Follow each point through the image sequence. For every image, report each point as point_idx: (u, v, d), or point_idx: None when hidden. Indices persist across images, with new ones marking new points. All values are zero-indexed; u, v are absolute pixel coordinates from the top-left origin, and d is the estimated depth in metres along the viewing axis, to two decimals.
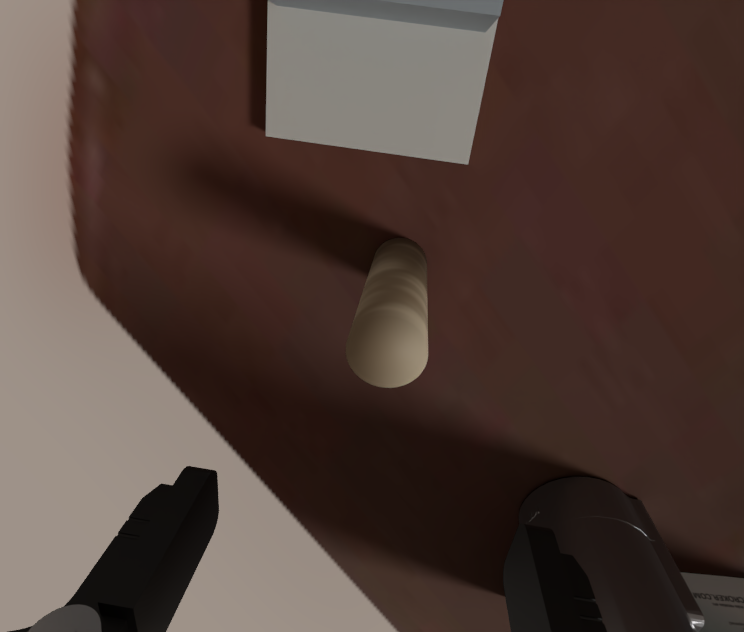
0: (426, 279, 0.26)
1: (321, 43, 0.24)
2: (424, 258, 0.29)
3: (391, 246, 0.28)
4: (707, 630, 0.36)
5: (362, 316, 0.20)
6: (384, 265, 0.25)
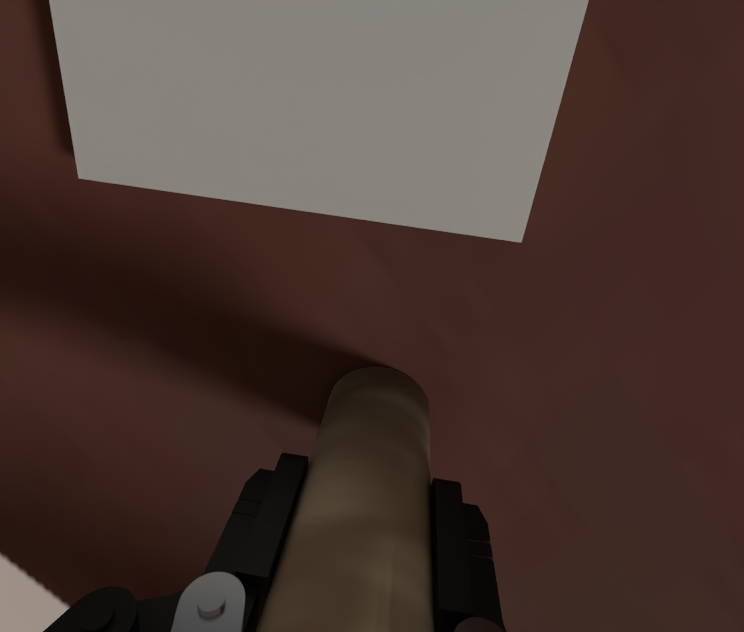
0: (429, 490, 0.12)
1: None
2: (424, 413, 0.14)
3: (357, 399, 0.14)
4: None
5: None
6: (331, 487, 0.11)
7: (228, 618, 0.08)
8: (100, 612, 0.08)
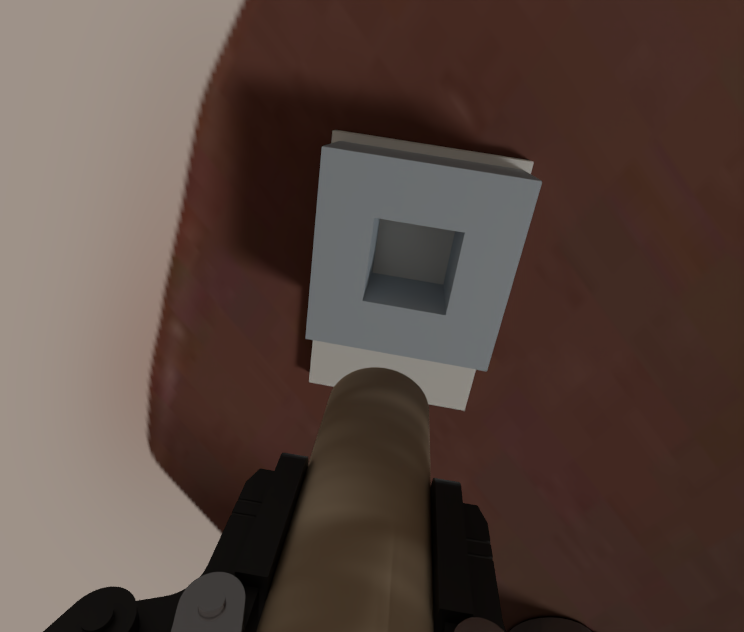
0: (429, 491, 0.12)
1: None
2: (424, 414, 0.15)
3: (357, 400, 0.14)
4: None
5: None
6: (331, 488, 0.11)
7: (228, 618, 0.08)
8: (100, 612, 0.08)
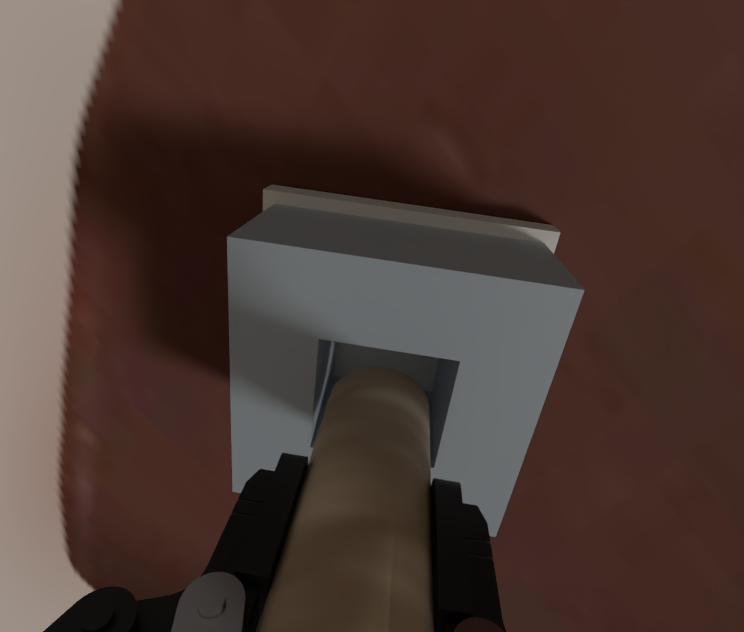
0: (430, 490, 0.12)
1: None
2: (425, 414, 0.14)
3: (357, 399, 0.14)
4: None
5: None
6: (331, 487, 0.11)
7: (228, 618, 0.08)
8: (100, 612, 0.08)
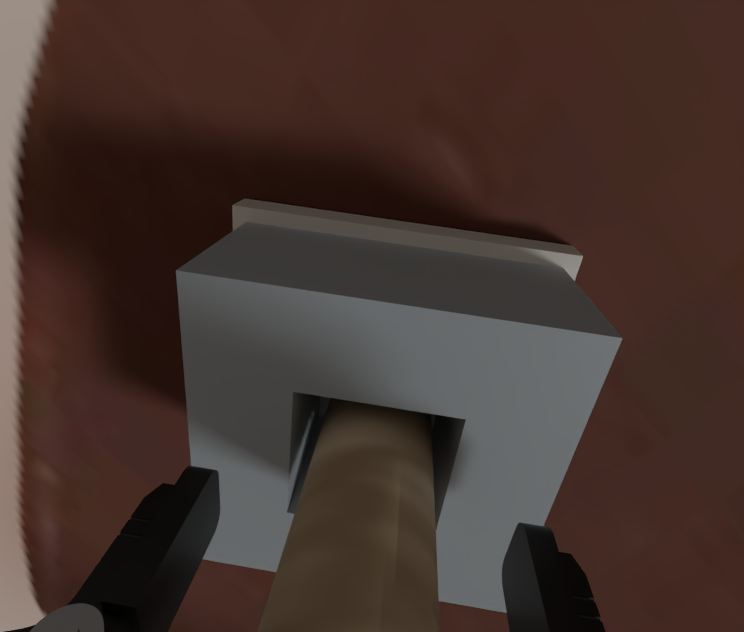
0: (431, 437, 0.14)
1: None
2: None
3: None
4: None
5: None
6: (347, 427, 0.12)
7: None
8: None
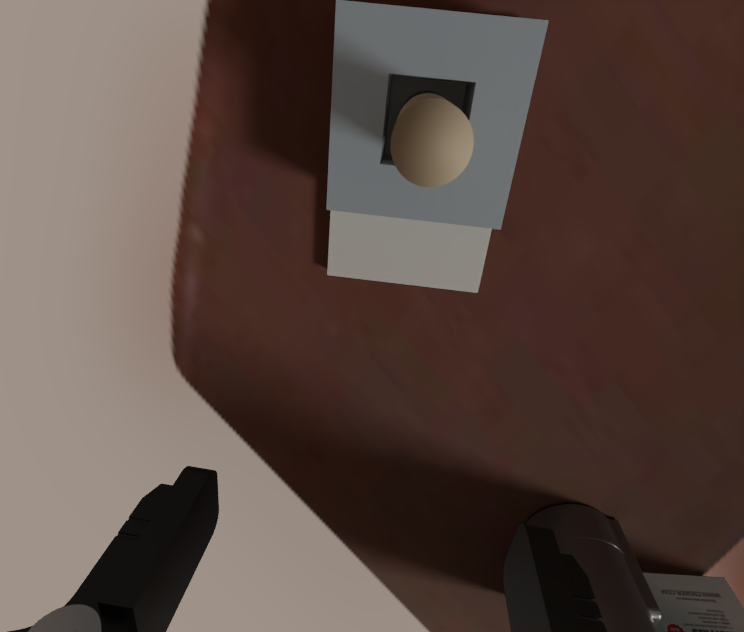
0: None
1: (370, 216, 0.33)
2: None
3: (418, 93, 0.28)
4: (670, 619, 0.46)
5: (405, 110, 0.20)
6: (415, 97, 0.25)
7: None
8: None
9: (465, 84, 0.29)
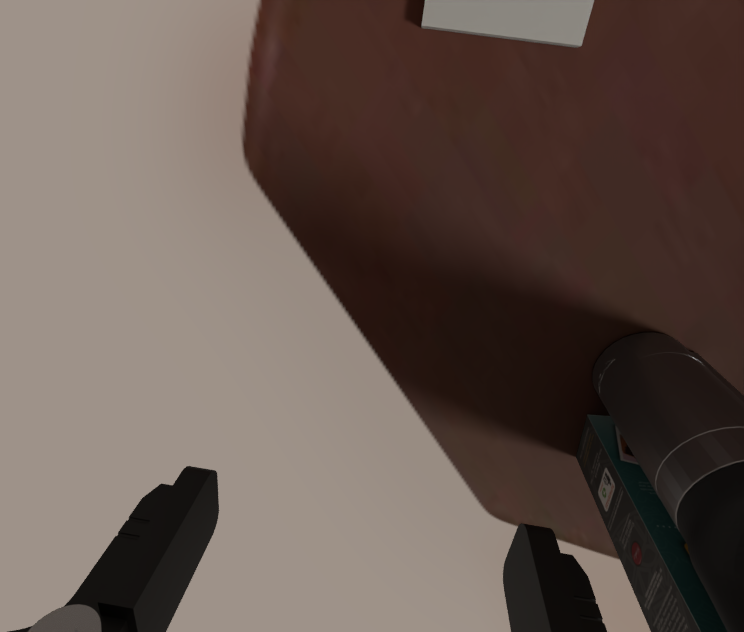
0: None
1: None
2: None
3: None
4: None
5: None
6: None
7: None
8: None
9: None
